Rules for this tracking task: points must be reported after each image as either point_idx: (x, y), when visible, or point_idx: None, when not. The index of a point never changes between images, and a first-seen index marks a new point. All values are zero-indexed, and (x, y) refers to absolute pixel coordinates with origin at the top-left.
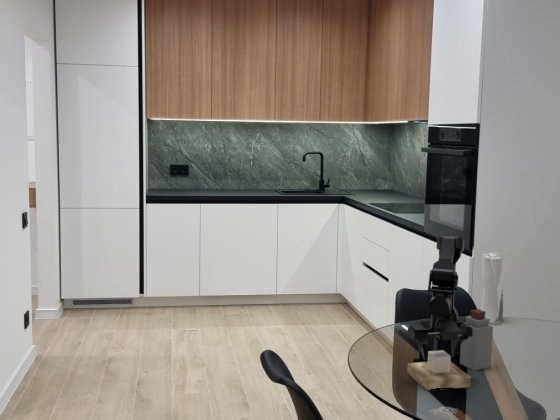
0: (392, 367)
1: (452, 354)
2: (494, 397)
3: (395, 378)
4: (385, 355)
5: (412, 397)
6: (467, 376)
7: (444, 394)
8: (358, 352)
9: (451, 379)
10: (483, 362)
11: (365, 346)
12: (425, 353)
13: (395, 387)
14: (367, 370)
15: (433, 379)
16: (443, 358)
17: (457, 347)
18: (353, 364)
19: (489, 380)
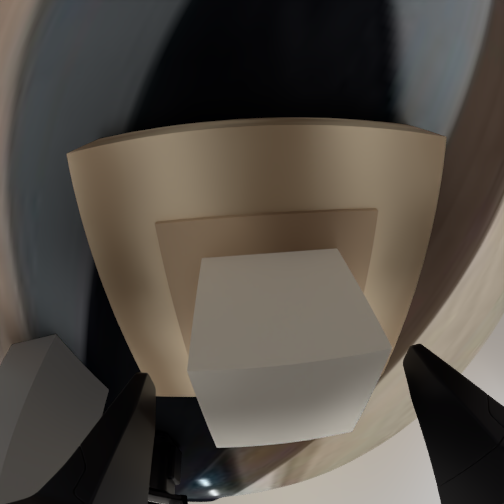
0: (385, 374)
1: (149, 403)
2: (35, 9)
3: (444, 288)
4: None
5: (487, 78)
6: (85, 172)
7: (325, 42)
8: (394, 429)
9: (240, 126)
10: (20, 358)
11: (354, 451)
12: (452, 381)
13: (494, 201)
14: (464, 345)
15: (397, 144)
16: (284, 346)
17: (91, 455)
18: None
19: (3, 231)
